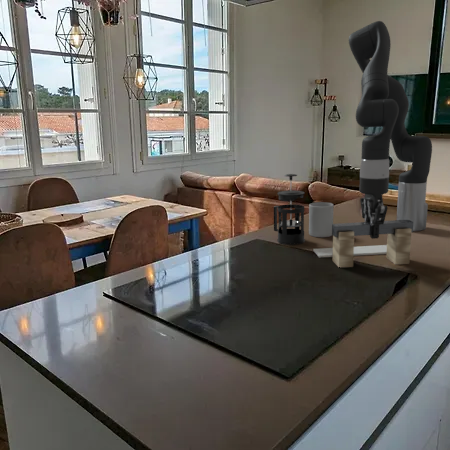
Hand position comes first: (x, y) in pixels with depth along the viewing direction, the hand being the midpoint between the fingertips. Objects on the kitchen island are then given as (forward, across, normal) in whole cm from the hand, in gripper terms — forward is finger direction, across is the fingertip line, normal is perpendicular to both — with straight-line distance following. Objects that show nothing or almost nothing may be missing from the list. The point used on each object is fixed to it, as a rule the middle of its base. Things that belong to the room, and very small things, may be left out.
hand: (371, 236), depth 120 cm
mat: (+8, +10, 0) cm, 13 cm away
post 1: (+8, 0, +8) cm, 11 cm away
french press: (+8, +26, +18) cm, 33 cm away
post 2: (+8, 0, -8) cm, 11 cm away
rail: (-1, 0, 0) cm, 1 cm away
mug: (+8, +34, +5) cm, 35 cm away
